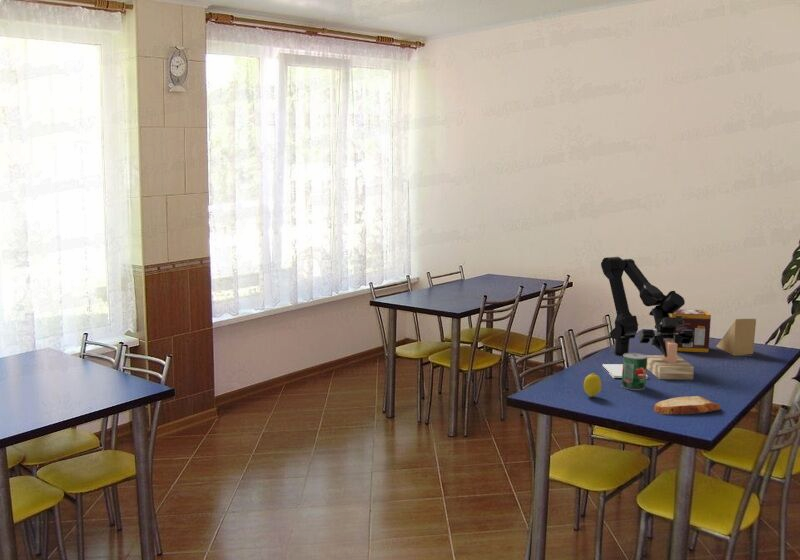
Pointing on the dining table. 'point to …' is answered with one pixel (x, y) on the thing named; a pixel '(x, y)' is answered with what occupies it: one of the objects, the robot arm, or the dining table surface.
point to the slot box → (669, 368)
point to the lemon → (592, 384)
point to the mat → (615, 370)
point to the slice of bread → (686, 405)
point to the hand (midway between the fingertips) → (670, 356)
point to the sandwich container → (739, 337)
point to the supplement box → (694, 329)
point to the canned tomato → (634, 371)
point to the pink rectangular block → (670, 351)
